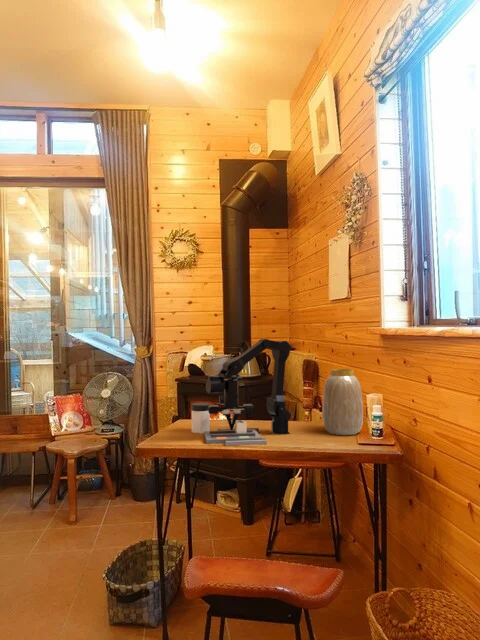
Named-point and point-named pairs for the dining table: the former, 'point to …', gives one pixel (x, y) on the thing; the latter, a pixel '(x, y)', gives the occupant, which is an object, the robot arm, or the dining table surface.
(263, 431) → the dining table surface
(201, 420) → the jar
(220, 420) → the dining table surface
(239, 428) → the breaker lever
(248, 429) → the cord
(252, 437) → the breaker panel
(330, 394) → the vase
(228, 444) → the grey flat bar
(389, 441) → the dining table surface
